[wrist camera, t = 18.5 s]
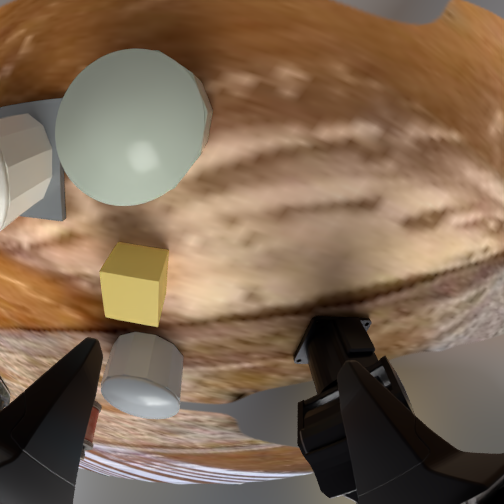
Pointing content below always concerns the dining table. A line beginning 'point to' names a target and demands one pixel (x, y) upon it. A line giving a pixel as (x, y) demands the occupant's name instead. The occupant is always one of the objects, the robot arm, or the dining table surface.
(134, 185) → the sage cup
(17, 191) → the cream cup
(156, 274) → the yellow cube
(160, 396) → the light grey cylinder
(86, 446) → the lighter
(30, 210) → the slate coaster
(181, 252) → the dining table surface
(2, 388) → the decorative house
